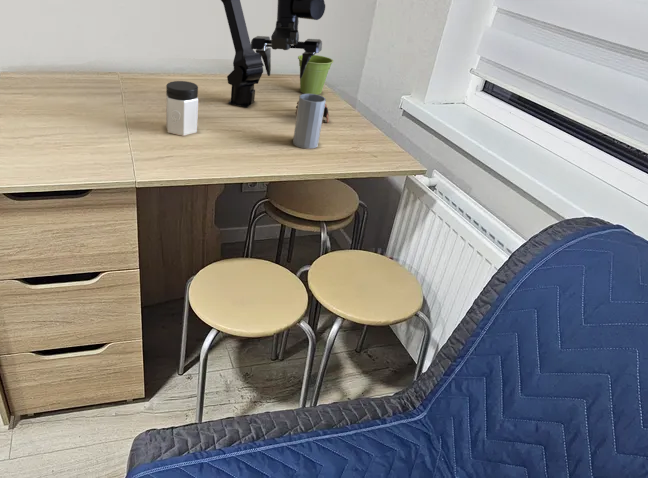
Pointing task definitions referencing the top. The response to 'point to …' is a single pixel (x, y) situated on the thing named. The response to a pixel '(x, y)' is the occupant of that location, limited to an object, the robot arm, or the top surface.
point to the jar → (181, 107)
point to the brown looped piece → (323, 114)
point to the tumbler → (309, 120)
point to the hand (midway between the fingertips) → (284, 76)
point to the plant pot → (314, 74)
